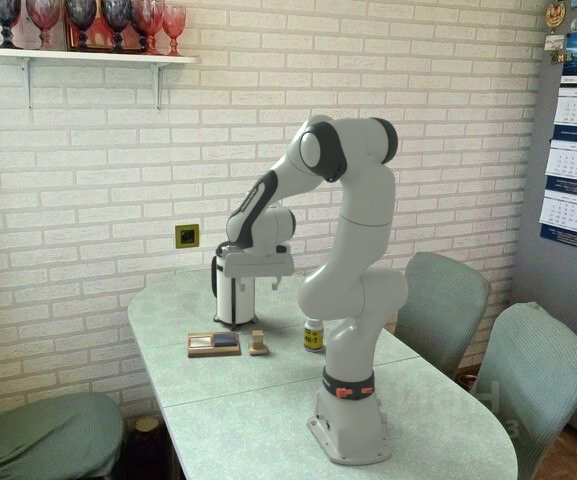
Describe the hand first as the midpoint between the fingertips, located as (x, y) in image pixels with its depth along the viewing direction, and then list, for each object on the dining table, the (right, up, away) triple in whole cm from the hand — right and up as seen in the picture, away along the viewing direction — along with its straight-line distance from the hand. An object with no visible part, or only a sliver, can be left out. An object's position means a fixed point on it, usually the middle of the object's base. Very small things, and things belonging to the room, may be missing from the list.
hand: (258, 290), depth 163 cm
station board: (-14, -17, +8) cm, 24 cm away
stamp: (-1, -19, +6) cm, 20 cm away
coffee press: (-10, -13, +25) cm, 30 cm away
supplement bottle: (+16, -18, +8) cm, 26 cm away
